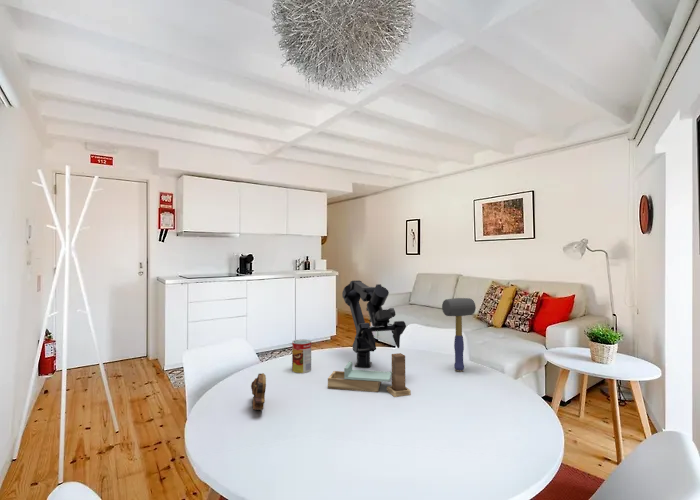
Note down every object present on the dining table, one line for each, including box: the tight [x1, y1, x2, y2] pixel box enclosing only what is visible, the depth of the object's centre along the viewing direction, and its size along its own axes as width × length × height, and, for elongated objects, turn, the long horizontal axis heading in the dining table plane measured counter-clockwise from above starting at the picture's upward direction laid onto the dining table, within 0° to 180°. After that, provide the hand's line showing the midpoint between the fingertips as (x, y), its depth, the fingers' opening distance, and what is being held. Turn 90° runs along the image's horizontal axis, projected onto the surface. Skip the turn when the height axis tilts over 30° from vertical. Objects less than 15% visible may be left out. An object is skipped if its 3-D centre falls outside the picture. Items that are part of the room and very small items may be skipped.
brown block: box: [391, 353, 406, 391], centre depth 124 cm, size 4×4×13 cm
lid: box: [343, 361, 392, 383], centre depth 129 cm, size 9×16×4 cm, turn 79°
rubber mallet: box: [441, 297, 477, 372], centre depth 148 cm, size 12×8×30 cm, turn 107°
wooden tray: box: [327, 370, 382, 393], centre depth 130 cm, size 9×18×4 cm, turn 79°
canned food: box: [291, 338, 312, 374], centre depth 148 cm, size 8×8×12 cm
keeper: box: [386, 385, 412, 398], centre depth 123 cm, size 6×6×2 cm
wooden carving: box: [250, 372, 267, 411], centre depth 111 cm, size 16×5×10 cm, turn 21°
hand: (387, 348), depth 131 cm, fingers open, 9 cm apart
